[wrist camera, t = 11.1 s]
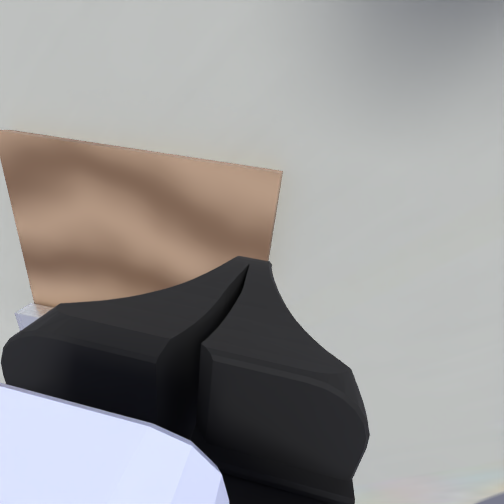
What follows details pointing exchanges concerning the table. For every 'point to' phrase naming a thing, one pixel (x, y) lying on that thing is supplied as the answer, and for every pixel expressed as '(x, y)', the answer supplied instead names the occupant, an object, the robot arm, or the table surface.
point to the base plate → (129, 216)
